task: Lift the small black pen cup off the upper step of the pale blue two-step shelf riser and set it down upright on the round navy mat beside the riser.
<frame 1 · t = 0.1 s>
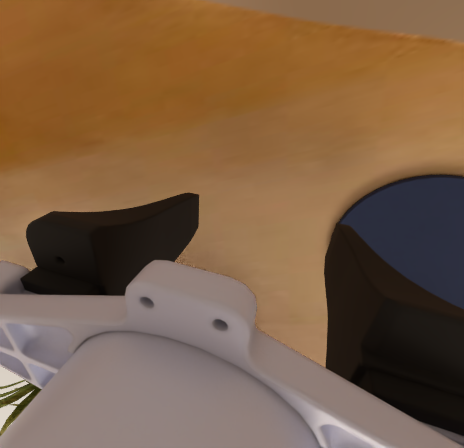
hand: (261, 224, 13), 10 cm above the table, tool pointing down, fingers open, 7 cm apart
navy mat: (416, 253, 22), on the table
house plant: (91, 325, 44), on the table
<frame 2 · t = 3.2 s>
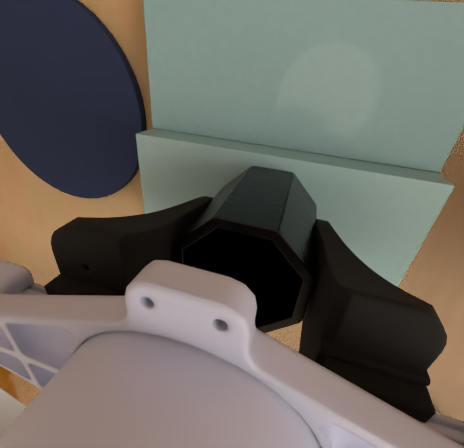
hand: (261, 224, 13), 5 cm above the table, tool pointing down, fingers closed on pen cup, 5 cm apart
navy mat: (62, 108, 19), on the table
pen cup: (265, 212, 15), point 4 cm above the table, touching gripper, shelf riser
shelf riser: (283, 141, 16), on the table
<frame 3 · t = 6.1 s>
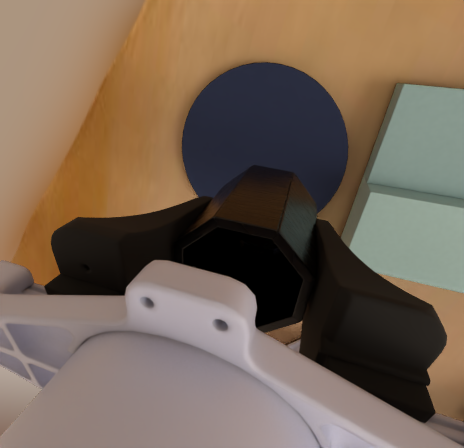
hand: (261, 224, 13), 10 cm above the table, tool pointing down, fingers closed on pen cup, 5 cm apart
navy mat: (259, 158, 22), on the table
pen cup: (265, 212, 15), point 9 cm above the table, touching gripper
when the fingers open (2 cm above the table, at t = 9.1 s): pen cup stays where it is, resting on navy mat.
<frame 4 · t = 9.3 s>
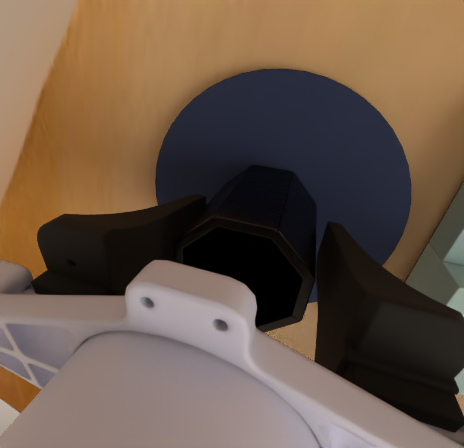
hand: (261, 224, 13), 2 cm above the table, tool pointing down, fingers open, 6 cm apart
navy mat: (267, 208, 15), on the table
pen cup: (265, 211, 15), point 1 cm above the table, touching navy mat
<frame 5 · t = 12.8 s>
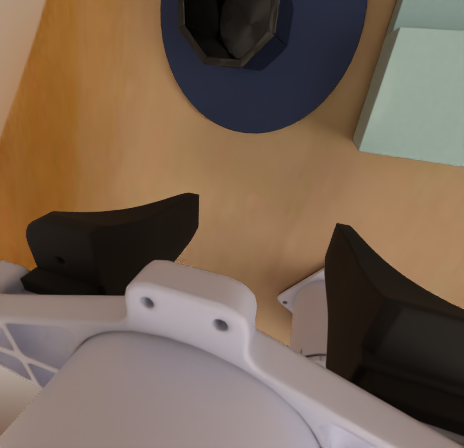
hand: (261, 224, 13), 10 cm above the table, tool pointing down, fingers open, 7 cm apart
navy mat: (254, 27, 18), on the table
pen cup: (252, 24, 17), point 1 cm above the table, touching navy mat
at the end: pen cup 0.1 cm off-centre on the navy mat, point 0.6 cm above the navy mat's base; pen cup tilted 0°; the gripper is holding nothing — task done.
